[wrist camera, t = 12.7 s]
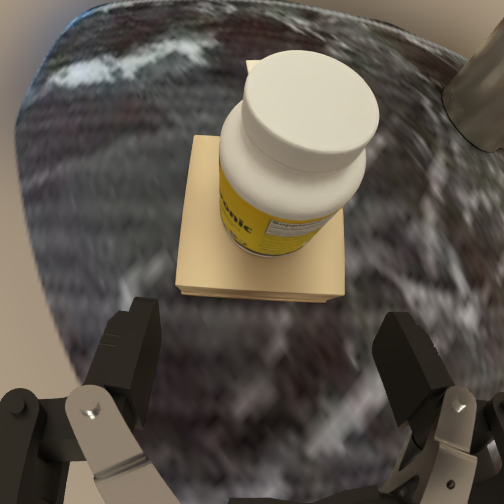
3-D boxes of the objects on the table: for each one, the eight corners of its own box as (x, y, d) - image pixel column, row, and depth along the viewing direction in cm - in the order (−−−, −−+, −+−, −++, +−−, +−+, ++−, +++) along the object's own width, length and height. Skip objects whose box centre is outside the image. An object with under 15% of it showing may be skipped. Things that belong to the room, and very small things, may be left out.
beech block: (322, 176, 23) (340, 149, 19) (323, 302, 21) (346, 296, 17) (196, 164, 22) (192, 133, 18) (182, 294, 20) (173, 286, 16)
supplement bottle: (213, 173, 18) (211, 36, 8) (304, 165, 18) (366, 42, 9) (225, 267, 16) (234, 184, 7) (325, 253, 17) (428, 172, 8)
